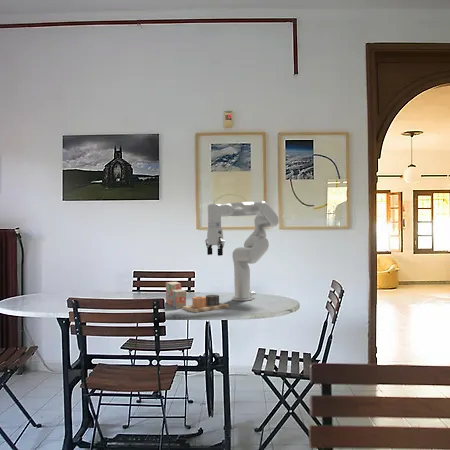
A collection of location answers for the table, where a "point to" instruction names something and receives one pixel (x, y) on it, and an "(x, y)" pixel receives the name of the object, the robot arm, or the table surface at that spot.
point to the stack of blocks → (175, 295)
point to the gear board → (208, 304)
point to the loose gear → (199, 302)
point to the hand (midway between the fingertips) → (215, 255)
